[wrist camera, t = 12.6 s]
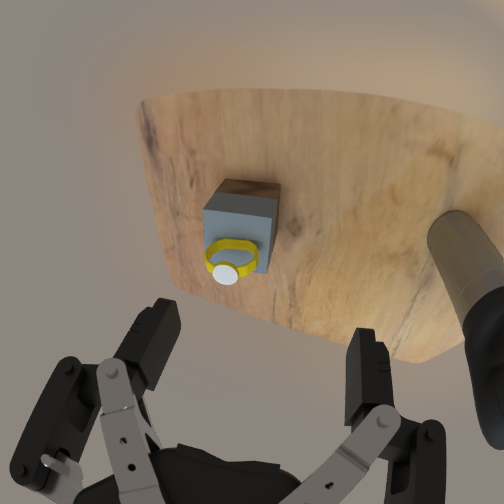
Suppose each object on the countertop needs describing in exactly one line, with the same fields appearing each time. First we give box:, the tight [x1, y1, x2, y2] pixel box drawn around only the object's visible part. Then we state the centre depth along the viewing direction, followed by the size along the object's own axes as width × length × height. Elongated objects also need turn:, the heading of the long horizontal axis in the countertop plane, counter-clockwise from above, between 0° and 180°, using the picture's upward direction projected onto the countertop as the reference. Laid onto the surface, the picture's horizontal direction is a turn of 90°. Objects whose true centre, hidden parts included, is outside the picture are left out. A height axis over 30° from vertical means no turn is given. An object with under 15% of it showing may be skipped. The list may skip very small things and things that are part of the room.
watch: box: [204, 238, 259, 285], centre depth 33 cm, size 6×3×6 cm, turn 92°
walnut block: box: [215, 179, 280, 251], centre depth 41 cm, size 8×8×5 cm
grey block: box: [203, 192, 277, 274], centre depth 37 cm, size 8×8×5 cm
